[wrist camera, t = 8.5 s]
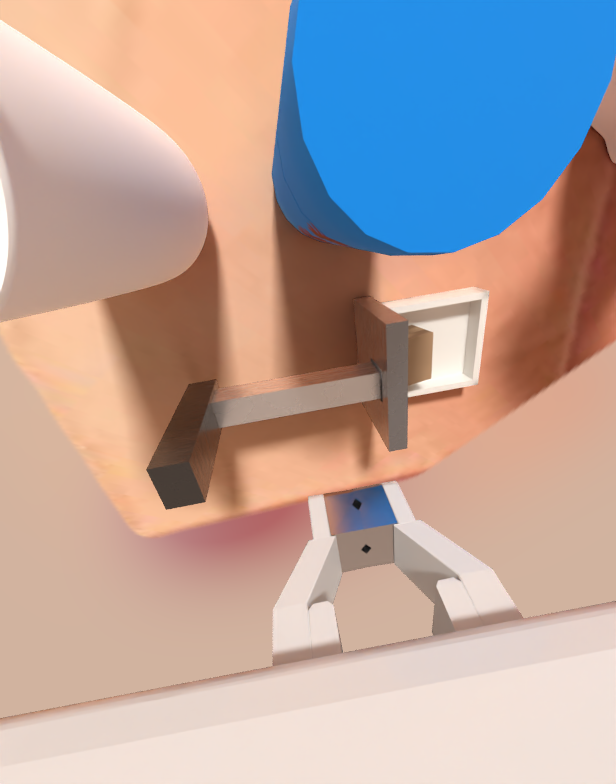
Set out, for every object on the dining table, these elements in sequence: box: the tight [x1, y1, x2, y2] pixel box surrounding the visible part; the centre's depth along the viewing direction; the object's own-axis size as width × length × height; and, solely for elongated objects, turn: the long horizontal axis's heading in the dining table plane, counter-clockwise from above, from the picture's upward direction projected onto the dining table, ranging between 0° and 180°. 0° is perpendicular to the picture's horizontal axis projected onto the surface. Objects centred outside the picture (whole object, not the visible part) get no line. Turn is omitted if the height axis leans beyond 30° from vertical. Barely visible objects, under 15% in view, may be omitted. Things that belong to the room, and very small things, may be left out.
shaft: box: [146, 362, 381, 510], centre depth 30 cm, size 20×4×14 cm, turn 98°
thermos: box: [272, 0, 616, 256], centre depth 21 cm, size 11×11×25 cm
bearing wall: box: [353, 296, 408, 452], centre depth 36 cm, size 2×14×12 cm, turn 8°
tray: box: [382, 287, 489, 397], centre depth 40 cm, size 13×12×3 cm
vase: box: [0, 20, 208, 322], centre depth 19 cm, size 13×13×28 cm
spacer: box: [408, 325, 433, 386], centre depth 38 cm, size 5×6×4 cm
